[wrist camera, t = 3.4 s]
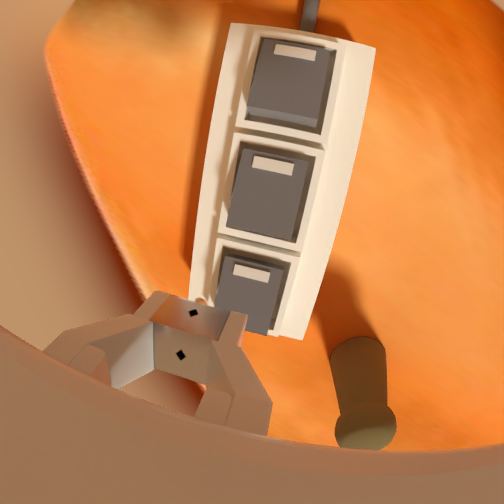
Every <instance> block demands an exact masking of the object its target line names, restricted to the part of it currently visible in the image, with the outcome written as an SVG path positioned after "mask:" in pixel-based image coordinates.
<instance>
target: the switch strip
mask: <svg viewBox="0 0 504 504" xmlns="http://www.w3.org/2000/svg"><path fill="white" fill-rule="evenodd" d="M319 3H320V0H304V6H303V11H302V16H301V21H300V26H299V30H294V29H287V28H280V27H273V26H264V25H254V24H241V23H231V25H230V29H229V33H228V38H227V42H226V47H225V52H224V56H223V61H222V66H221V71H220V76H219V81H218V86H217V92H216V97H215V103H214V108H213V114H212V119H211V125H210V131H209V137H208V143H207V150H206V156H205V163H204V169H203V176H202V183H201V190H200V198H199V205H198V213H197V221H196V229H195V238H194V247H193V256H192V265H191V275H190V286H189V297H188V300H191V301H195V302H198V303H201V304H204V305H208V306H212V307H215V303H216V298H217V293H218V288H219V283H220V278H221V273H222V268H223V264H224V259H225V256H226V255H228V254H229V253H231V254H235V255H239V256H243V257H247V258H251V259H256V260H260V261H264V262H268V263H272V264H276V265H280V266H284V270H283V274H282V278H281V282H280V286H279V290H278V294H277V298H276V302H275V306H274V310H273V314H272V318H271V321H270V325H269V329H268V333H267V334H268V335H272V336H276V337H278V336H279V335H282V336H286V337H290V338H295V339H299V340H303V337H304V334H305V331H306V328H307V325H308V322H309V319H310V316H311V313H312V310H313V307H314V304H315V301H316V298H317V295H318V292H319V289H320V286H321V282H322V279H323V276H324V273H325V269H326V266H327V263H328V259H329V256H330V253H331V249H332V246H333V242H334V239H335V235H336V232H337V228H338V224H339V221H340V217H341V213H342V209H343V206H344V202H345V198H346V194H347V190H348V186H349V182H350V178H351V174H352V169H353V165H354V161H355V157H356V152H357V148H358V143H359V139H360V134H361V129H362V124H363V119H364V114H365V109H366V104H367V99H368V93H369V88H370V82H371V76H372V70H373V64H374V58H375V51H376V48H373V47H370V46H367V45H363V44H359V43H356V42H352V41H348V40H344V39H340V38H335V37H331V36H326V35H322V34H317V33H314V31H315V26H316V20H317V15H318V9H319ZM264 39H267V40H275V41H282V42H289V43H295V44H301V45H306V46H311V47H316V48H321V49H326V50H330V56H329V61H328V67H327V73H326V78H325V83H324V89H323V94H322V99H321V105H320V110H319V115H318V120H317V124H316V128H315V127H311V126H306V125H302V124H297V123H292V122H287V121H282V120H277V119H272V118H266V117H261V116H255V115H250V113H249V111H248V108H247V102H248V98H249V94H250V90H251V86H252V82H253V79H254V75H255V71H256V67H257V64H258V60H259V56H260V53H261V49H262V45H263V42H264ZM243 148H244V149H249V150H254V151H260V152H265V153H270V154H275V155H279V156H284V157H289V158H293V159H298V160H302V161H307V162H308V167H307V171H306V176H305V181H304V185H303V190H302V194H301V199H300V203H299V208H298V212H297V216H296V221H295V225H294V229H293V234H292V238H291V240H287V239H283V238H278V237H274V236H270V235H266V234H261V233H257V232H253V231H248V230H244V229H240V228H235V227H231V226H227V225H226V222H227V217H228V213H229V208H230V204H231V199H232V195H233V190H234V186H235V181H236V177H237V173H238V168H239V164H240V160H241V155H242V151H243Z"/></svg>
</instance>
